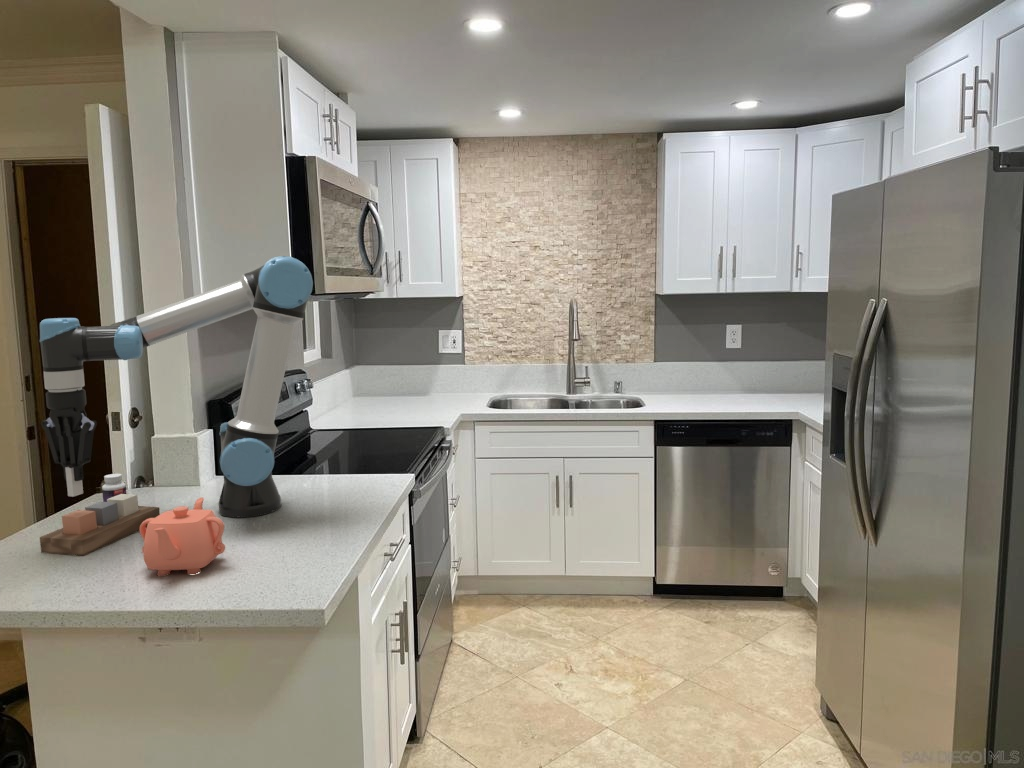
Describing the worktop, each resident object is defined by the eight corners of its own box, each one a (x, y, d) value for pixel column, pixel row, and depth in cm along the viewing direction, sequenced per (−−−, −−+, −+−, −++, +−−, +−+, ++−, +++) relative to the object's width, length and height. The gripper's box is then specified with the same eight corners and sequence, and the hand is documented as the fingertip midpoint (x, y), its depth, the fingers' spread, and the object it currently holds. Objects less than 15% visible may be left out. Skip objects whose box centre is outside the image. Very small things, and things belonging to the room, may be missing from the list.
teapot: (160, 589, 144) (154, 525, 142) (133, 566, 156) (128, 507, 154) (237, 568, 154) (232, 508, 152) (206, 547, 166) (202, 492, 164)
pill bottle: (118, 516, 190) (114, 478, 189) (99, 515, 191) (95, 477, 190) (132, 509, 195) (129, 473, 194) (114, 508, 197) (111, 472, 195)
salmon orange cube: (97, 532, 170) (95, 511, 170) (81, 539, 166) (79, 517, 165) (80, 531, 172) (78, 509, 171) (64, 538, 167) (61, 516, 166)
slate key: (119, 523, 177) (117, 502, 176) (103, 529, 172) (101, 508, 171) (102, 522, 178) (100, 501, 177) (87, 528, 173) (85, 507, 173)
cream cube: (139, 514, 183) (137, 494, 182) (125, 520, 178) (123, 500, 178) (123, 513, 184) (121, 493, 183) (108, 519, 180) (106, 499, 179)
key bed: (160, 521, 185) (159, 507, 185) (82, 556, 162) (81, 540, 162) (122, 518, 188) (121, 504, 188) (41, 552, 165) (39, 537, 165)
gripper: (103, 387, 166) (113, 491, 169) (55, 386, 169) (65, 488, 173) (76, 392, 159) (86, 501, 162) (26, 391, 162) (37, 497, 165)
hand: (75, 494), depth 167 cm, fingers closed
